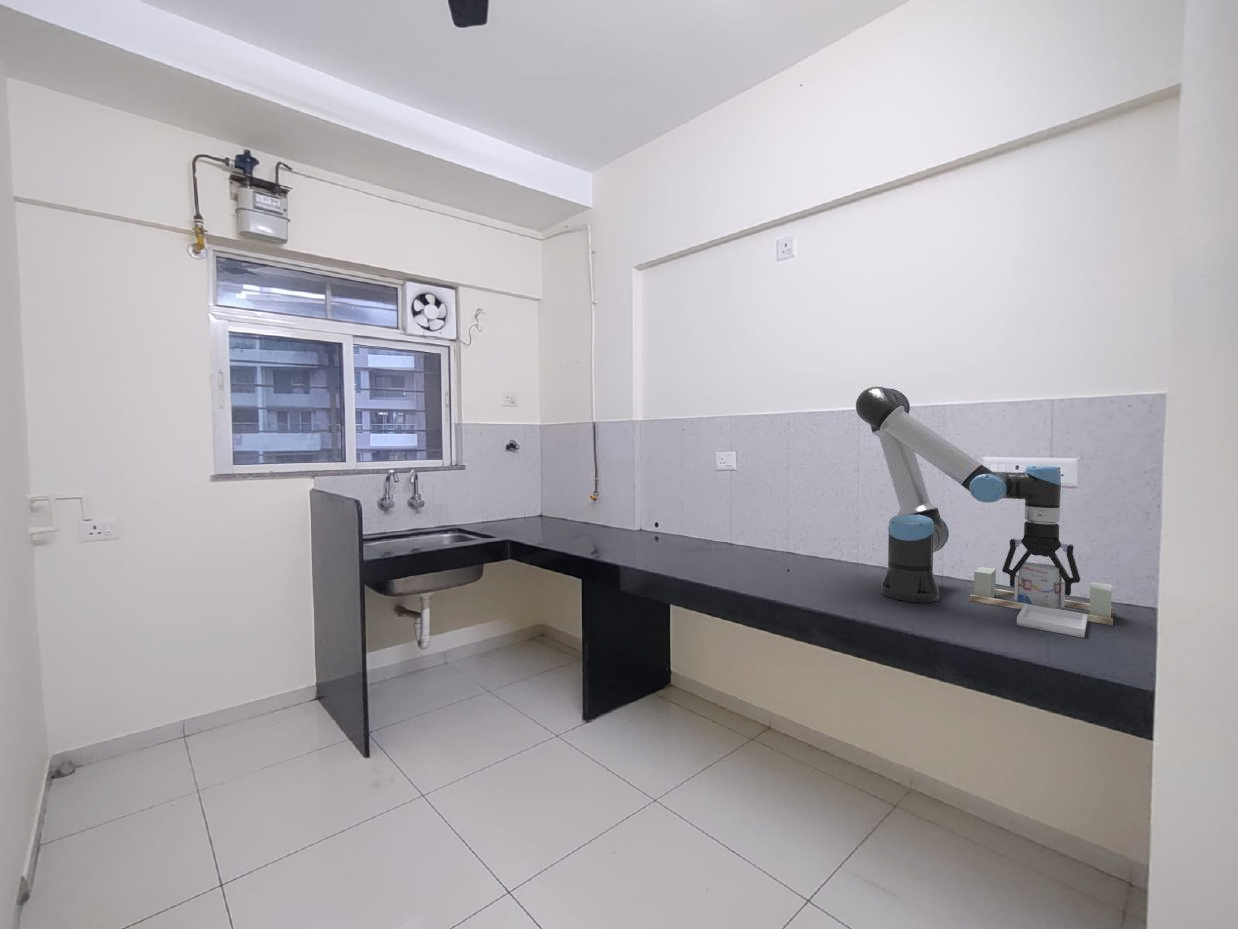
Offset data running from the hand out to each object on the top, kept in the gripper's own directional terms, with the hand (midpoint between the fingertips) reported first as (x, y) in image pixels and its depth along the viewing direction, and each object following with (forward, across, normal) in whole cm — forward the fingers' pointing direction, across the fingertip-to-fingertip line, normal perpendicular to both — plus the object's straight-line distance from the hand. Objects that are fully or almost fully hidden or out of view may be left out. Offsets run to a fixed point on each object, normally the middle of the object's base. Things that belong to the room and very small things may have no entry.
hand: (1039, 602), depth 145 cm
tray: (+1, +4, -15) cm, 16 cm away
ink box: (+1, 0, 0) cm, 1 cm away
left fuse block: (+1, -12, 0) cm, 13 cm away
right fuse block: (+1, +12, 0) cm, 13 cm away
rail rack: (+1, 0, 0) cm, 1 cm away
